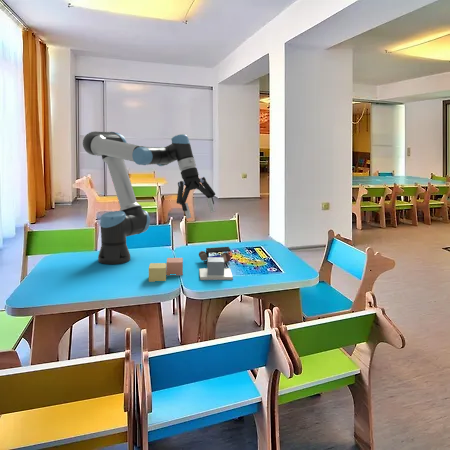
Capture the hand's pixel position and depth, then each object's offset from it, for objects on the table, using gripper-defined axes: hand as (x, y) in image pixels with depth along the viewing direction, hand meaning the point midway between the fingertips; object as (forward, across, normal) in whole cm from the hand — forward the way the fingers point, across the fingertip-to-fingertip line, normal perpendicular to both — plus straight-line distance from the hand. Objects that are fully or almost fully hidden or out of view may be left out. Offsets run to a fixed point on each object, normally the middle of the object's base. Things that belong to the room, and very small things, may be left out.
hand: (201, 215), depth 181 cm
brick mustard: (+22, -24, +10) cm, 34 cm away
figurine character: (+24, +10, +14) cm, 29 cm away
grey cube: (+26, -2, -1) cm, 26 cm away
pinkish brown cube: (+22, -14, +12) cm, 29 cm away
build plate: (+27, -2, 0) cm, 27 cm away
